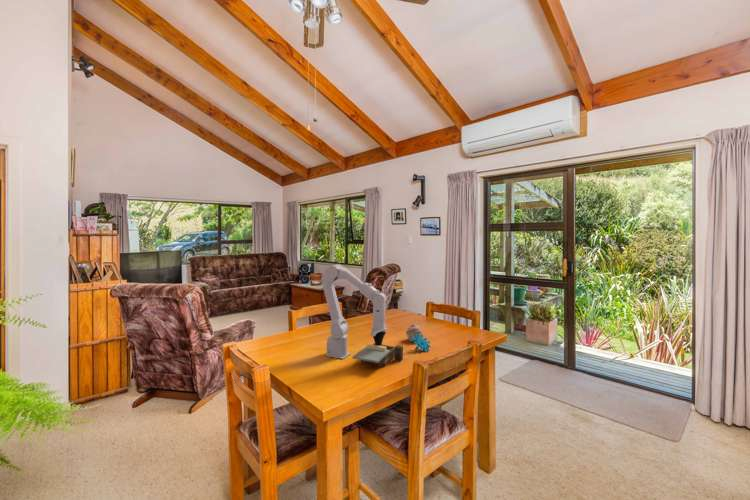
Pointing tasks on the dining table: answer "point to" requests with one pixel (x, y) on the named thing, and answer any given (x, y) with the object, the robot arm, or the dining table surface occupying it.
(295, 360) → the dining table surface
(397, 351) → the block
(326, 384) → the dining table surface
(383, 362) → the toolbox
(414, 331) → the cupcake
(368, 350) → the lid
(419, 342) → the gear
